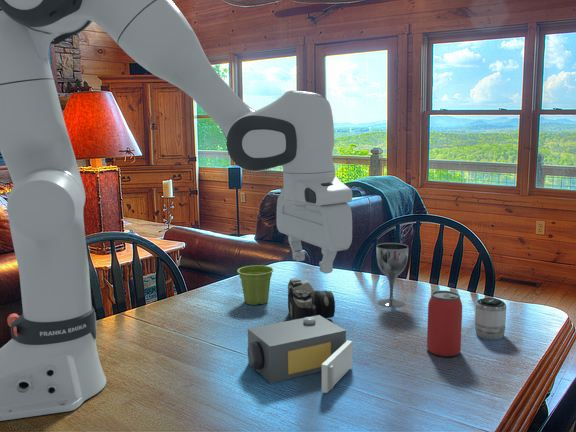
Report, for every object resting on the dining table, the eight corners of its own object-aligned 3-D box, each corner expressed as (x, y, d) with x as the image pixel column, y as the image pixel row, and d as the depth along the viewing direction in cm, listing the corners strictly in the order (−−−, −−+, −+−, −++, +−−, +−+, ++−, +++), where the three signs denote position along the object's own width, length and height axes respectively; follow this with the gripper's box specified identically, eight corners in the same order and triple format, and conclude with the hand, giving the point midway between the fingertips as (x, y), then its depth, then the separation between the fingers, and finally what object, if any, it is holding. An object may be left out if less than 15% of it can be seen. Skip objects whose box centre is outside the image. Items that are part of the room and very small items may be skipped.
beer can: (455, 360, 110) (457, 301, 108) (422, 353, 114) (424, 296, 112) (464, 349, 116) (466, 292, 114) (432, 342, 119) (434, 287, 117)
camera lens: (509, 334, 123) (511, 299, 122) (497, 342, 119) (499, 306, 118) (481, 327, 128) (483, 294, 126) (469, 335, 123) (470, 300, 122)
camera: (341, 332, 126) (341, 289, 124) (296, 335, 124) (295, 291, 123) (324, 309, 141) (324, 270, 140) (284, 312, 140) (283, 273, 138)
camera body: (265, 385, 101) (264, 343, 99) (242, 364, 110) (241, 325, 108) (346, 365, 108) (346, 326, 107) (319, 347, 117) (319, 311, 116)
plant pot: (231, 305, 145) (230, 272, 144) (248, 294, 154) (247, 263, 152) (264, 309, 142) (264, 275, 140) (279, 298, 150) (279, 266, 149)
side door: (330, 393, 97) (330, 366, 96) (321, 391, 97) (321, 364, 96) (355, 366, 107) (355, 341, 106) (347, 365, 108) (347, 340, 107)
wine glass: (411, 301, 147) (412, 244, 144) (400, 309, 140) (401, 250, 138) (382, 296, 151) (383, 241, 148) (370, 304, 144) (371, 247, 142)
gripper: (266, 183, 104) (269, 256, 107) (324, 196, 86) (326, 283, 89) (296, 180, 107) (298, 251, 109) (358, 192, 89) (360, 276, 92)
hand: (311, 266), depth 99 cm, fingers open, 8 cm apart
